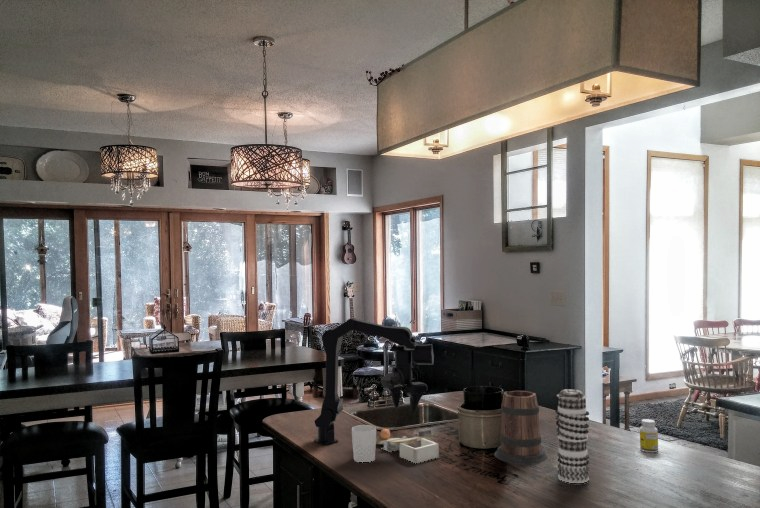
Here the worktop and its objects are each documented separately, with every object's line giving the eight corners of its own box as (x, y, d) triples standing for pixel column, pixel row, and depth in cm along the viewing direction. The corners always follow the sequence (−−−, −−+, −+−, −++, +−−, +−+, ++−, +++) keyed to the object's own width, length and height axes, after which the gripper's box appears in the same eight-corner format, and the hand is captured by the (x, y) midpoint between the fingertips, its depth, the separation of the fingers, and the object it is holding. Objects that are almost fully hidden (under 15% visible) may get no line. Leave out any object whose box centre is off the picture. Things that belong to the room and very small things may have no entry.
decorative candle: (587, 486, 161) (585, 395, 162) (553, 481, 166) (551, 392, 166) (593, 476, 169) (591, 389, 170) (560, 471, 174) (558, 386, 174)
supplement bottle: (639, 447, 195) (638, 417, 196) (657, 448, 194) (656, 419, 194) (640, 452, 190) (640, 422, 191) (659, 453, 188) (658, 423, 189)
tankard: (545, 466, 178) (544, 400, 178) (489, 460, 184) (488, 396, 184) (552, 444, 200) (551, 385, 200) (502, 440, 206) (501, 382, 206)
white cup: (373, 464, 182) (373, 432, 182) (349, 463, 184) (348, 431, 184) (378, 456, 190) (378, 425, 190) (355, 455, 191) (354, 424, 192)
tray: (399, 457, 188) (399, 443, 189) (422, 451, 194) (422, 438, 194) (415, 463, 182) (415, 449, 182) (438, 457, 187) (438, 443, 188)
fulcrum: (380, 448, 198) (380, 439, 198) (402, 443, 203) (401, 434, 203) (389, 452, 193) (389, 442, 194) (411, 447, 199) (410, 437, 199)
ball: (378, 440, 203) (377, 430, 204) (387, 438, 205) (385, 428, 206) (384, 440, 200) (383, 429, 201) (392, 438, 202) (391, 428, 203)
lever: (375, 444, 203) (374, 436, 203) (409, 436, 211) (408, 429, 212) (402, 445, 190) (401, 437, 190) (438, 436, 199) (436, 429, 199)
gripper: (369, 363, 205) (369, 408, 204) (401, 370, 190) (402, 418, 189) (394, 360, 211) (395, 403, 211) (427, 366, 196) (428, 413, 196)
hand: (404, 409), depth 201 cm, fingers open, 9 cm apart
